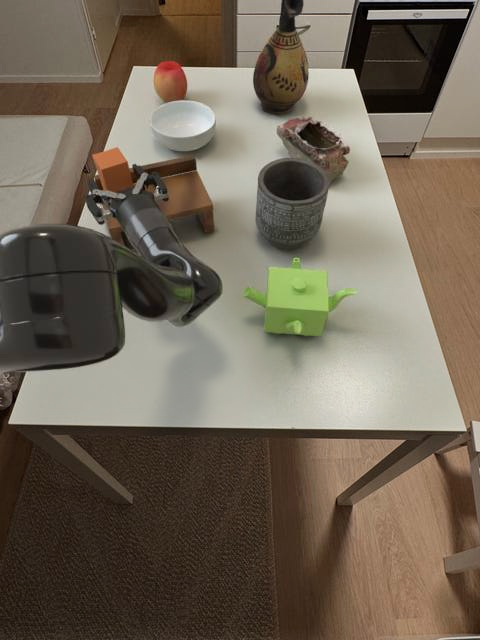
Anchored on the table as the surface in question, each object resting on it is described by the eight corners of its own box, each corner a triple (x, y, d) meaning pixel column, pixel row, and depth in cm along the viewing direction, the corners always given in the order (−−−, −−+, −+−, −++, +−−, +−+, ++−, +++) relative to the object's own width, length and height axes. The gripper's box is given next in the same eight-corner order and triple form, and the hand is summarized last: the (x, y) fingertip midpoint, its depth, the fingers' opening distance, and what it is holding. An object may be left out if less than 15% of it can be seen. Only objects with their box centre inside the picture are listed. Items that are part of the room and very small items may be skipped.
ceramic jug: (308, 120, 119) (327, -6, 94) (254, 121, 118) (259, -5, 93) (299, 89, 128) (315, -34, 103) (249, 90, 127) (253, -33, 102)
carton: (117, 220, 84) (101, 169, 74) (108, 205, 86) (92, 154, 76) (140, 211, 86) (127, 161, 76) (131, 197, 88) (117, 146, 78)
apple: (155, 94, 126) (150, 58, 117) (187, 91, 127) (183, 56, 118) (157, 111, 120) (152, 75, 112) (190, 108, 121) (187, 72, 113)
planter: (328, 228, 95) (342, 173, 82) (297, 267, 88) (308, 214, 76) (275, 204, 99) (281, 148, 86) (242, 240, 92) (243, 185, 80)
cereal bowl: (158, 165, 107) (153, 140, 101) (150, 128, 116) (146, 103, 110) (222, 156, 109) (221, 131, 103) (210, 121, 118) (208, 96, 112)
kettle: (345, 322, 81) (359, 286, 71) (295, 365, 75) (303, 333, 66) (290, 277, 87) (296, 239, 77) (240, 314, 81) (240, 278, 72)
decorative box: (302, 197, 100) (308, 162, 92) (262, 152, 110) (264, 117, 102) (347, 181, 104) (356, 146, 96) (303, 139, 114) (309, 104, 106)
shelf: (118, 256, 89) (104, 217, 80) (107, 215, 96) (93, 175, 87) (214, 232, 94) (212, 193, 84) (197, 194, 101) (193, 154, 91)
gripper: (182, 196, 70) (144, 146, 78) (101, 225, 66) (70, 169, 74) (186, 229, 76) (151, 179, 84) (113, 257, 72) (83, 202, 80)
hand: (113, 174), depth 79 cm, fingers open, 8 cm apart
